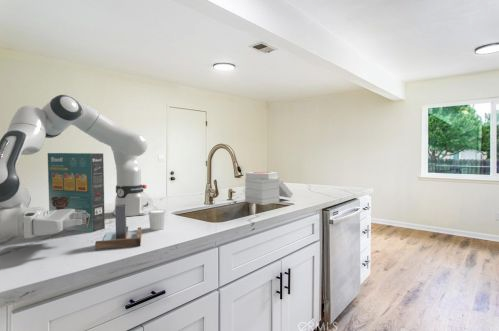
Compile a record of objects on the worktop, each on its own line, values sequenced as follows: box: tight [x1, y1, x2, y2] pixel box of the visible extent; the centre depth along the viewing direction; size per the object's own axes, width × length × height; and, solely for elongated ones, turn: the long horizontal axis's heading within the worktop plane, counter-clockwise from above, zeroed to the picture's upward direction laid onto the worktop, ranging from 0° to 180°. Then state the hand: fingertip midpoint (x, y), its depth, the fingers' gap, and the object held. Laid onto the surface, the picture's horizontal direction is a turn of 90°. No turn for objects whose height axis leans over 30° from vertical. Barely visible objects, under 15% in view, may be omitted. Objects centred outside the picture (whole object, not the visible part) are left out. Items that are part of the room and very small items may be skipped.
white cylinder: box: [148, 209, 167, 231], centre depth 119 cm, size 7×7×7 cm
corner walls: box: [94, 227, 142, 251], centre depth 102 cm, size 15×13×2 cm
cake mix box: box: [47, 152, 106, 233], centre depth 119 cm, size 22×6×30 cm, turn 72°
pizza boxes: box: [244, 171, 293, 206], centre depth 186 cm, size 19×30×18 cm, turn 133°
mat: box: [98, 229, 143, 251], centre depth 104 cm, size 19×12×1 cm, turn 19°
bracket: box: [114, 204, 129, 239], centre depth 105 cm, size 13×3×12 cm, turn 19°
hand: (85, 218), depth 97 cm, fingers open, 8 cm apart
